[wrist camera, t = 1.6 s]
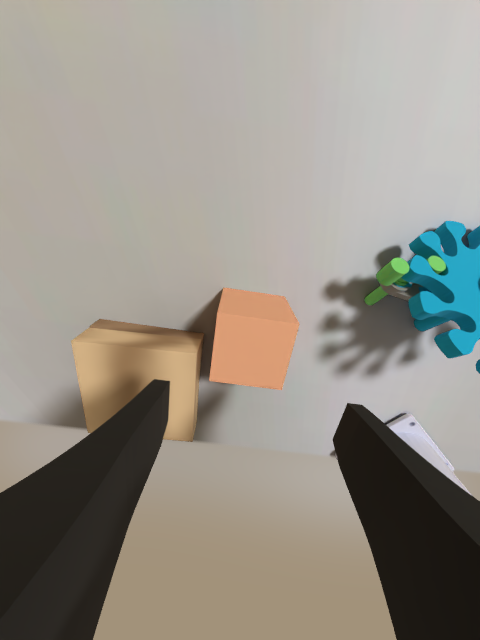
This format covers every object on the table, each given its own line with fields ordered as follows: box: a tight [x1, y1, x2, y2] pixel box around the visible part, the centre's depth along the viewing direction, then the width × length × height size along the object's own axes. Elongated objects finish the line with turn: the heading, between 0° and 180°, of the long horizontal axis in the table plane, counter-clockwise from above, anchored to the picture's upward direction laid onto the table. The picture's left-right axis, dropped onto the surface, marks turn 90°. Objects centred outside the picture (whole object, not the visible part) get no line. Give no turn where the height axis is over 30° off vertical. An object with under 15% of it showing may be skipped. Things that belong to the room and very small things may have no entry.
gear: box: [365, 221, 480, 373], centre depth 16 cm, size 11×6×10 cm
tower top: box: [71, 328, 201, 442], centre depth 18 cm, size 8×8×2 cm
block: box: [209, 288, 299, 390], centre depth 16 cm, size 4×4×5 cm
